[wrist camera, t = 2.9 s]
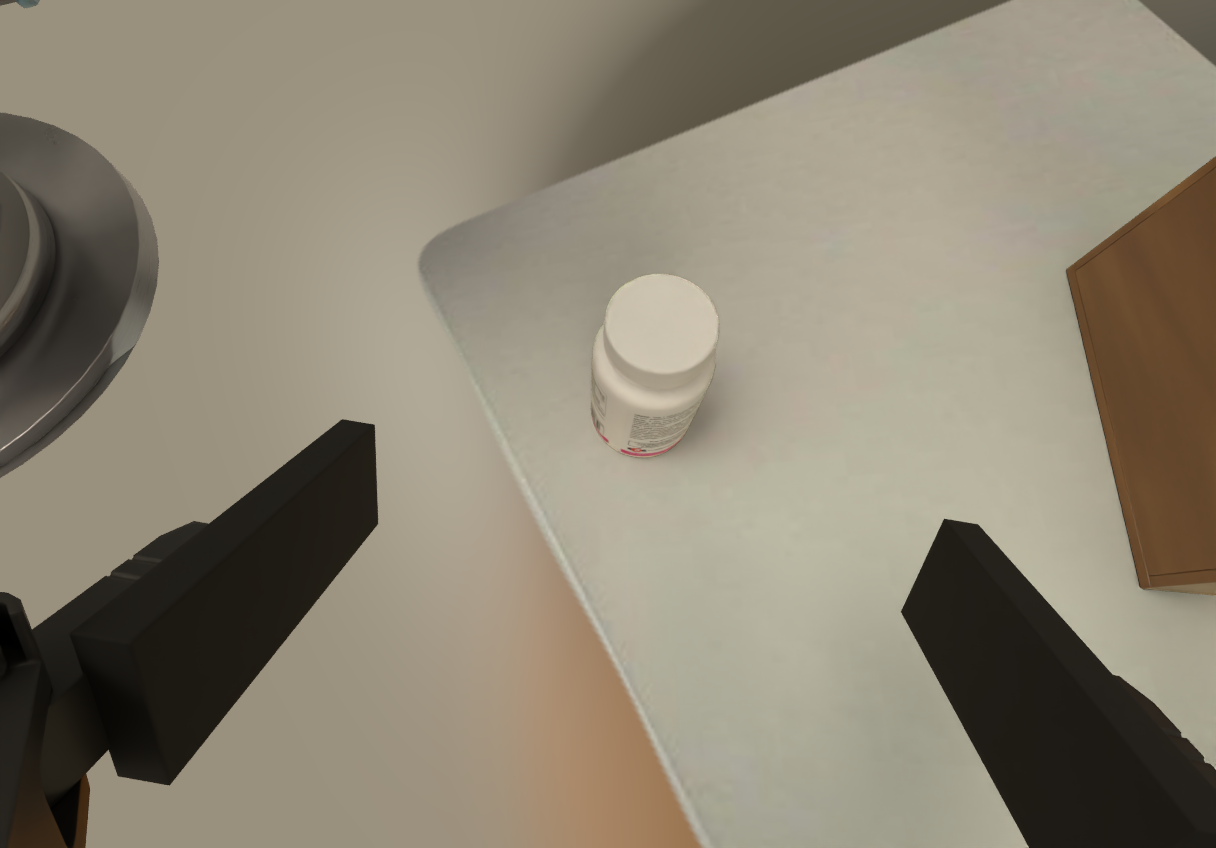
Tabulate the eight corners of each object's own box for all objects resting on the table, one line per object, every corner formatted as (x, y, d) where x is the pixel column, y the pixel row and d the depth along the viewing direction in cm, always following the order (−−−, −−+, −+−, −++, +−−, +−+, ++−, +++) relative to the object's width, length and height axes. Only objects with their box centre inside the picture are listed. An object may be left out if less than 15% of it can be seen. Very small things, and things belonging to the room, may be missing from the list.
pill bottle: (706, 396, 28) (755, 302, 20) (659, 478, 26) (692, 410, 18) (622, 351, 28) (637, 242, 21) (571, 427, 27) (566, 341, 19)
